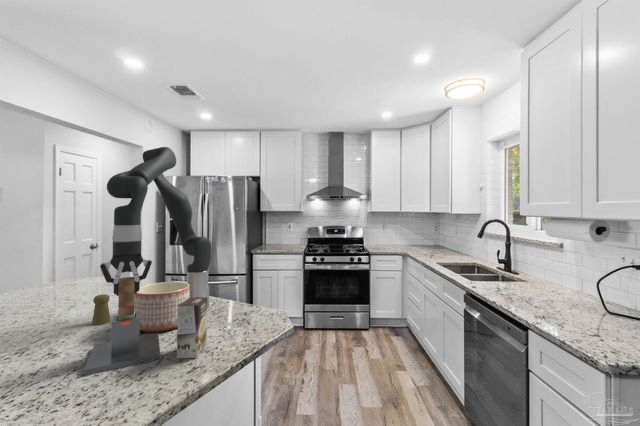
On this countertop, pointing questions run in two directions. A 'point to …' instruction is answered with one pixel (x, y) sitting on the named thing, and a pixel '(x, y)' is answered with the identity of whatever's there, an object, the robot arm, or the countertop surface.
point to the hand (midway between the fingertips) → (126, 293)
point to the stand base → (123, 347)
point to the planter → (160, 305)
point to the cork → (101, 310)
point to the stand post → (126, 298)
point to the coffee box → (191, 327)
